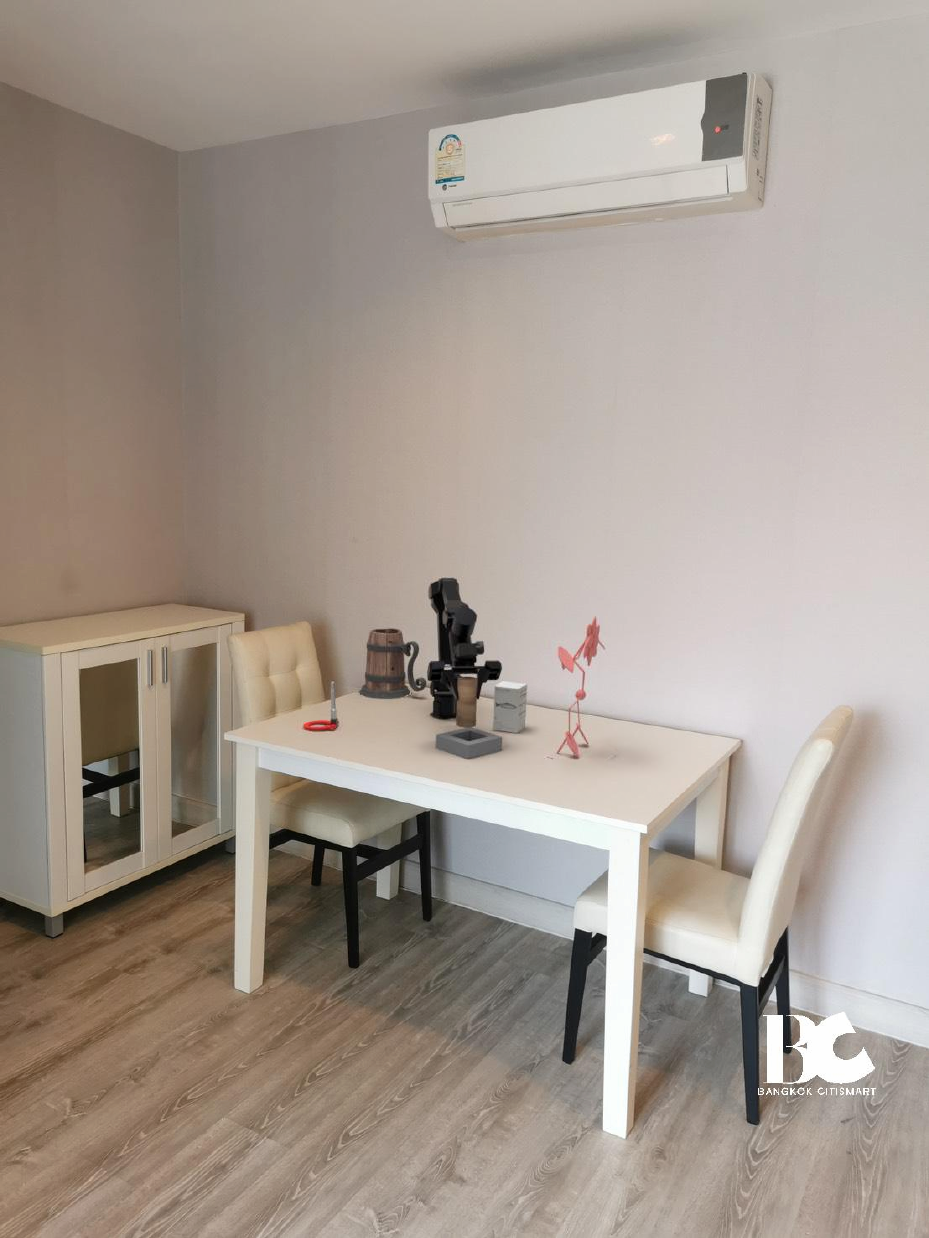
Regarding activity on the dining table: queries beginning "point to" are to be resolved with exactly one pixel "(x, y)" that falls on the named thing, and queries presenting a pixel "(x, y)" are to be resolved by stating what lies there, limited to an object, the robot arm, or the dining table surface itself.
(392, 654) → the tankard
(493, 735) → the socket block
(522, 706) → the supplement box
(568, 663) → the figurine
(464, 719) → the walnut peg
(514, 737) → the dining table surface
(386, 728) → the dining table surface
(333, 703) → the tow hook
